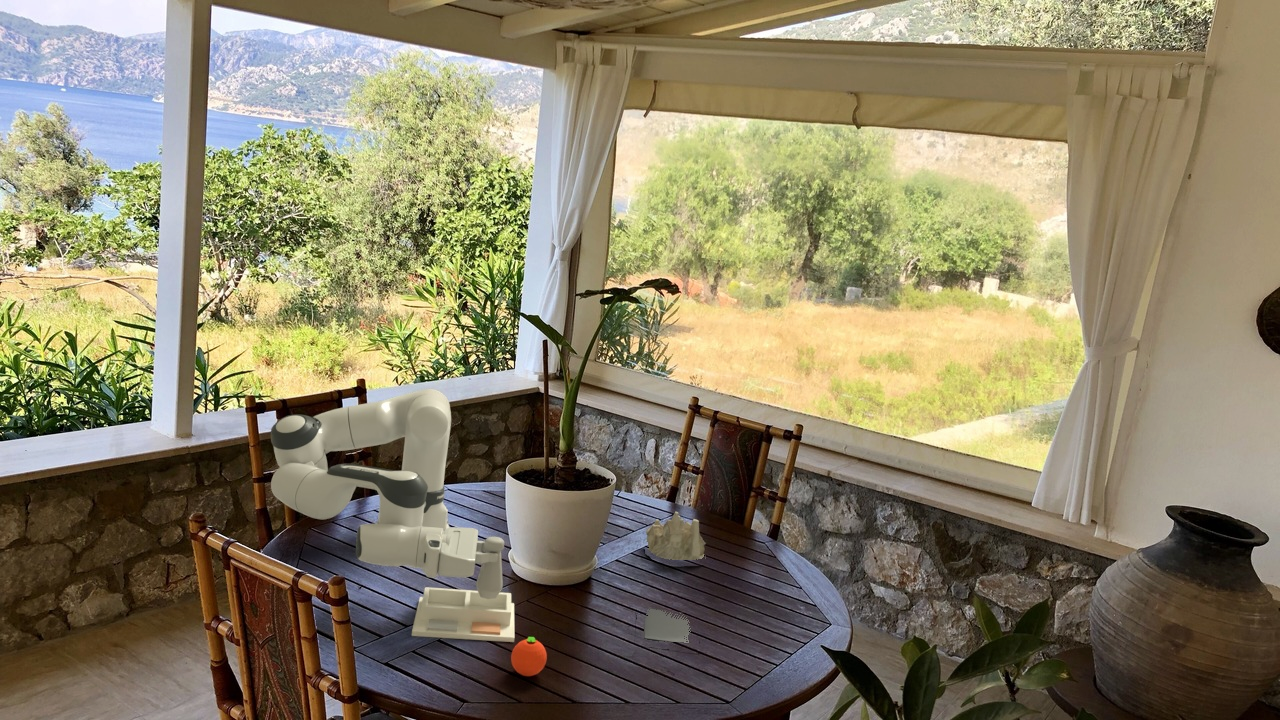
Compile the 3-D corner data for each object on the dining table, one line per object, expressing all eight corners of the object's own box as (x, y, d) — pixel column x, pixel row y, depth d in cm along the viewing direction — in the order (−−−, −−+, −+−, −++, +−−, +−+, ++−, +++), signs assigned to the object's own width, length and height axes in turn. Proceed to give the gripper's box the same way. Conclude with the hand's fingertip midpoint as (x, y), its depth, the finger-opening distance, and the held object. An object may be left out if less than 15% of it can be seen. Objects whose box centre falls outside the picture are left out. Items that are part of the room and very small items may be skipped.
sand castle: (710, 567, 249) (715, 514, 247) (653, 568, 244) (657, 514, 243) (692, 550, 264) (696, 499, 262) (637, 550, 259) (641, 498, 258)
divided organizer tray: (419, 601, 204) (421, 584, 204) (513, 607, 208) (515, 590, 207) (411, 635, 188) (413, 617, 187) (513, 642, 191) (516, 624, 190)
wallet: (702, 649, 196) (632, 639, 197) (700, 658, 197) (630, 647, 197) (700, 611, 216) (636, 602, 217) (699, 619, 217) (635, 609, 217)
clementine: (510, 661, 183) (514, 628, 182) (545, 664, 184) (549, 631, 182) (508, 681, 175) (512, 646, 174) (544, 684, 176) (548, 649, 175)
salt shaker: (493, 603, 196) (500, 545, 194) (470, 596, 197) (476, 539, 196) (506, 594, 201) (512, 537, 199) (482, 587, 203) (489, 531, 201)
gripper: (435, 544, 207) (496, 549, 209) (427, 580, 187) (495, 585, 189) (438, 518, 206) (499, 523, 208) (430, 551, 186) (498, 556, 188)
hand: (497, 553), depth 198 cm, fingers closed on salt shaker, 3 cm apart
